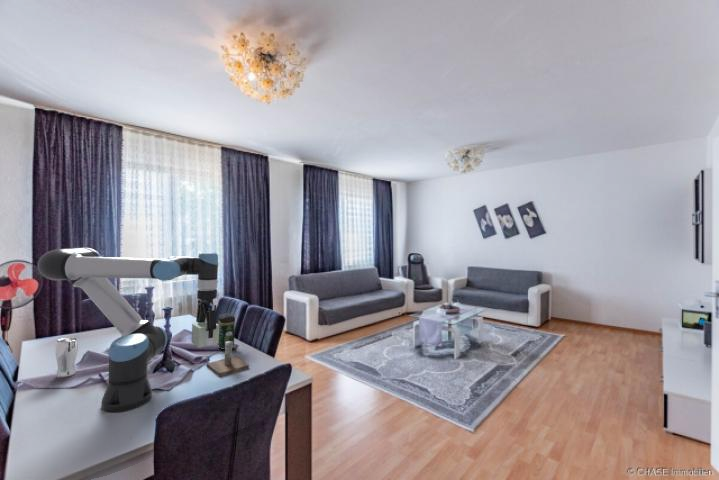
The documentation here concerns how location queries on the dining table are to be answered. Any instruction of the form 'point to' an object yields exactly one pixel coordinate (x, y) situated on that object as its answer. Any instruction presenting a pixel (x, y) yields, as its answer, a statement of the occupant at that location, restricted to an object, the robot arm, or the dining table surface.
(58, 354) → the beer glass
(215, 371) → the post board
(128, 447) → the dining table surface
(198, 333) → the collar
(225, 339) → the coffee jar
